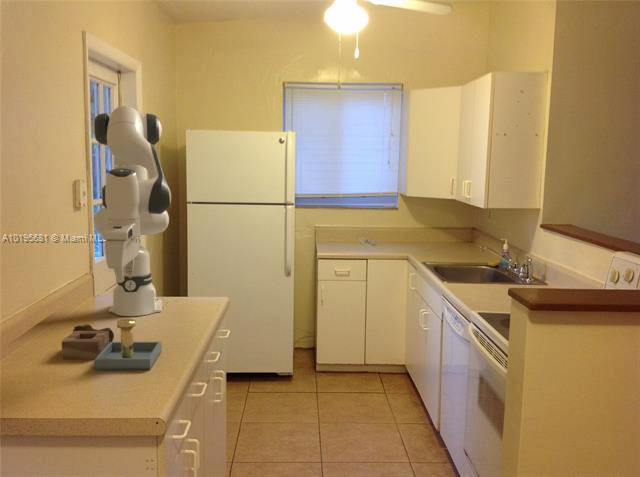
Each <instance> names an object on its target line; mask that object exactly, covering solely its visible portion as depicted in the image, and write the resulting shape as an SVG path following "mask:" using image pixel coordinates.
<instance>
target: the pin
mask: <svg viewBox="0 0 640 477" xmlns="http://www.w3.org/2000/svg"><path fill="white" fill-rule="evenodd" d="M116 326H117V328H119V330H120V342H121V357H122V358H134V351H133V342H134V327H135V326H137V325H136V320H135V319H133V318H124V319H120V320H118V321H117V322H116Z"/></svg>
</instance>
